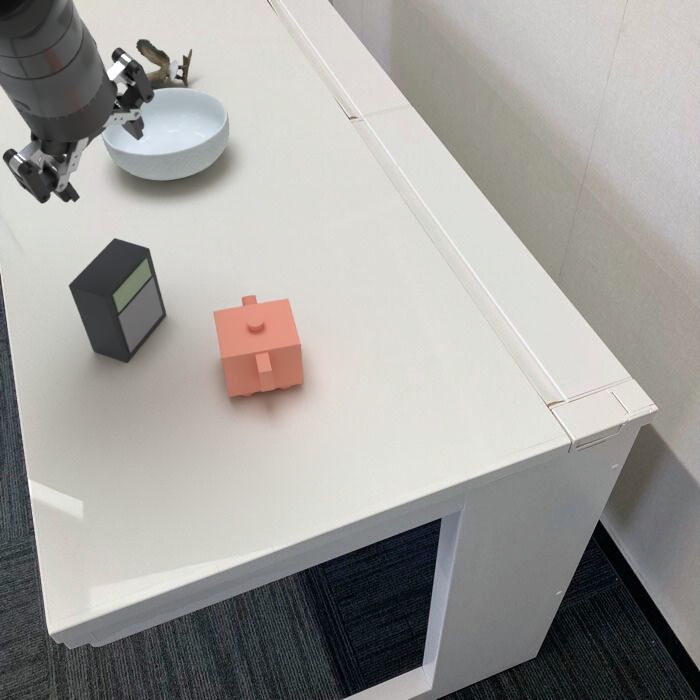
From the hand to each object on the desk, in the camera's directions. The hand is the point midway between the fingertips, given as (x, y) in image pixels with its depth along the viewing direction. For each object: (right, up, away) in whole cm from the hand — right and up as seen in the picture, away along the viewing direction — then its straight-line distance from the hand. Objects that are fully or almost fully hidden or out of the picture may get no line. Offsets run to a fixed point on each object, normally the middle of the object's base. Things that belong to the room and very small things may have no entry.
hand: (102, 163), depth 74 cm
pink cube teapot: (+14, -20, +10) cm, 26 cm away
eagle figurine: (-6, +24, +49) cm, 55 cm away
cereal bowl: (-1, +8, +35) cm, 36 cm away
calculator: (-1, -16, +13) cm, 21 cm away
